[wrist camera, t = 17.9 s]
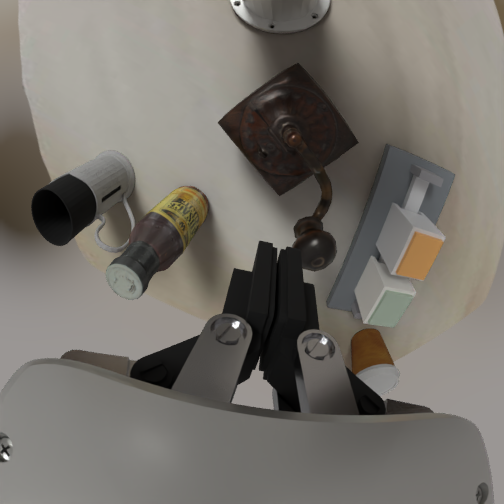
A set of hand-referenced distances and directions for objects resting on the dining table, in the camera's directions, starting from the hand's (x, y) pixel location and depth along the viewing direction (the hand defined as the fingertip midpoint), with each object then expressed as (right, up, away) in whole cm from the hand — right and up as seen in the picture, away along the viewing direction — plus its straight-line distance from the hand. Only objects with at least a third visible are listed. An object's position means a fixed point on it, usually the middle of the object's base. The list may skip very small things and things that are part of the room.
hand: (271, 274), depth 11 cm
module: (+21, +4, +25) cm, 33 cm away
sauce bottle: (-10, +8, +28) cm, 31 cm away
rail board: (+21, +3, +28) cm, 35 cm away
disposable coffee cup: (+23, -17, +40) cm, 49 cm away
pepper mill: (+5, +16, +22) cm, 28 cm away
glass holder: (-20, +11, +28) cm, 36 cm away
